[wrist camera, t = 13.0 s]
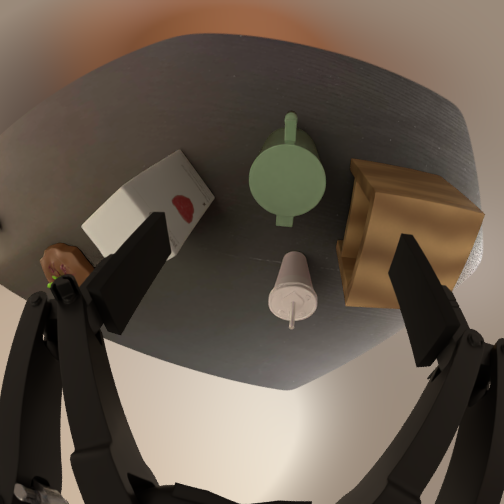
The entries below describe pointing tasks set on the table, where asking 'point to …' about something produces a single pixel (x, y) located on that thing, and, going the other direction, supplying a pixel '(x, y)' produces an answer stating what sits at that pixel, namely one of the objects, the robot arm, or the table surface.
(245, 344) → the table surface
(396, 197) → the stand
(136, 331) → the table surface
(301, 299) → the smoothie
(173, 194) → the rectangular carton
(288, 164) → the jug
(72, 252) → the plant
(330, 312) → the table surface
